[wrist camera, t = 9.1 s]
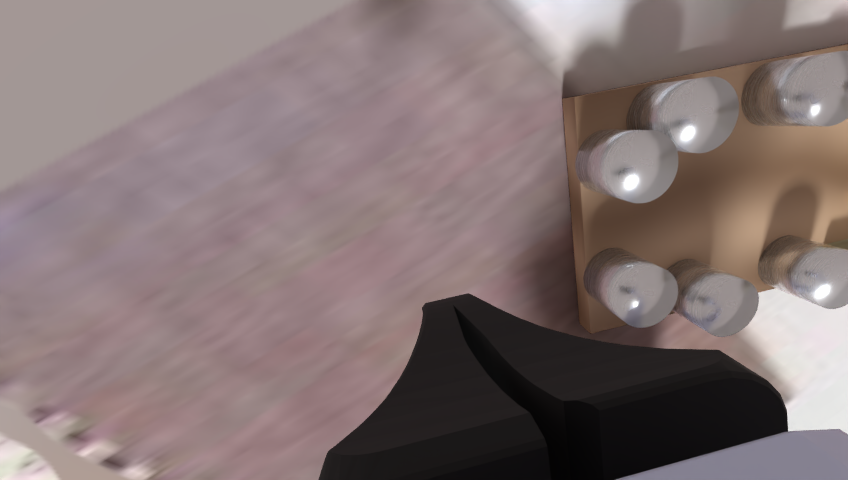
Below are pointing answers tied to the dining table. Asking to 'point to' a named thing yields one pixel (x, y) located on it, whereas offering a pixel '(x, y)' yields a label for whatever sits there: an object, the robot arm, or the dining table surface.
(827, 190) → the tan tray
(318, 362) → the dining table surface
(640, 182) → the spacers
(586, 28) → the dining table surface
